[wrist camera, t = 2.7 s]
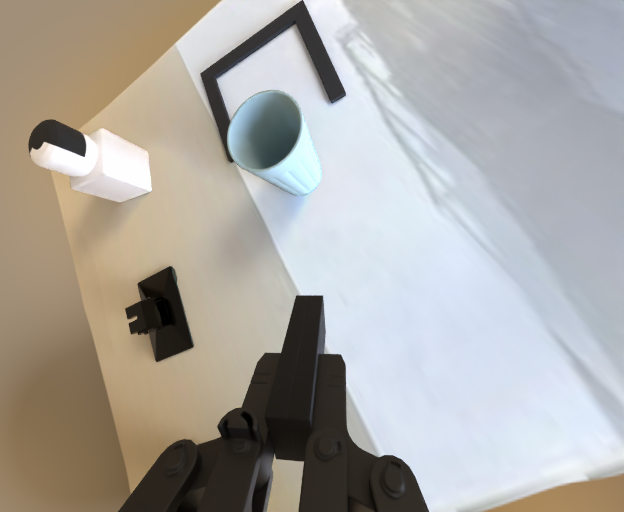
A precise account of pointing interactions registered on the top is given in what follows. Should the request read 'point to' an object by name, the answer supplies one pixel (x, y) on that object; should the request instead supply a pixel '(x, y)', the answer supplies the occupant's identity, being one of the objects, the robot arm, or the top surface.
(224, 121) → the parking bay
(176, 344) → the build plate
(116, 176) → the medicine bottle
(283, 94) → the cup
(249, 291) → the top surface
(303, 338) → the robot arm
